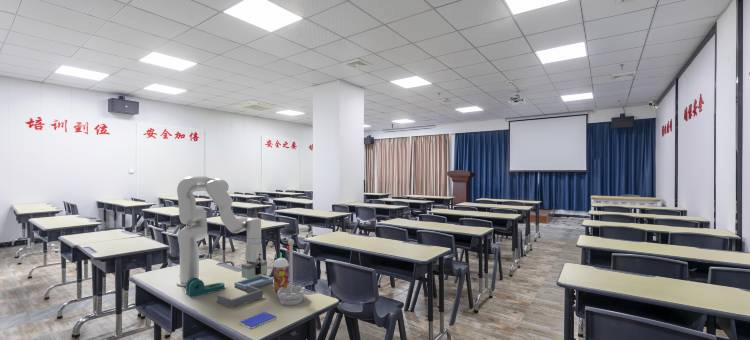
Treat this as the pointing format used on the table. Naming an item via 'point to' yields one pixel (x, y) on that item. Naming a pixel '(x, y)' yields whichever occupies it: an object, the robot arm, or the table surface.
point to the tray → (254, 282)
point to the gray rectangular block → (253, 270)
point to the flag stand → (291, 284)
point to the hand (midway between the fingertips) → (254, 272)
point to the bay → (241, 297)
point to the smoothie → (280, 273)
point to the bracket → (201, 287)
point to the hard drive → (257, 320)
